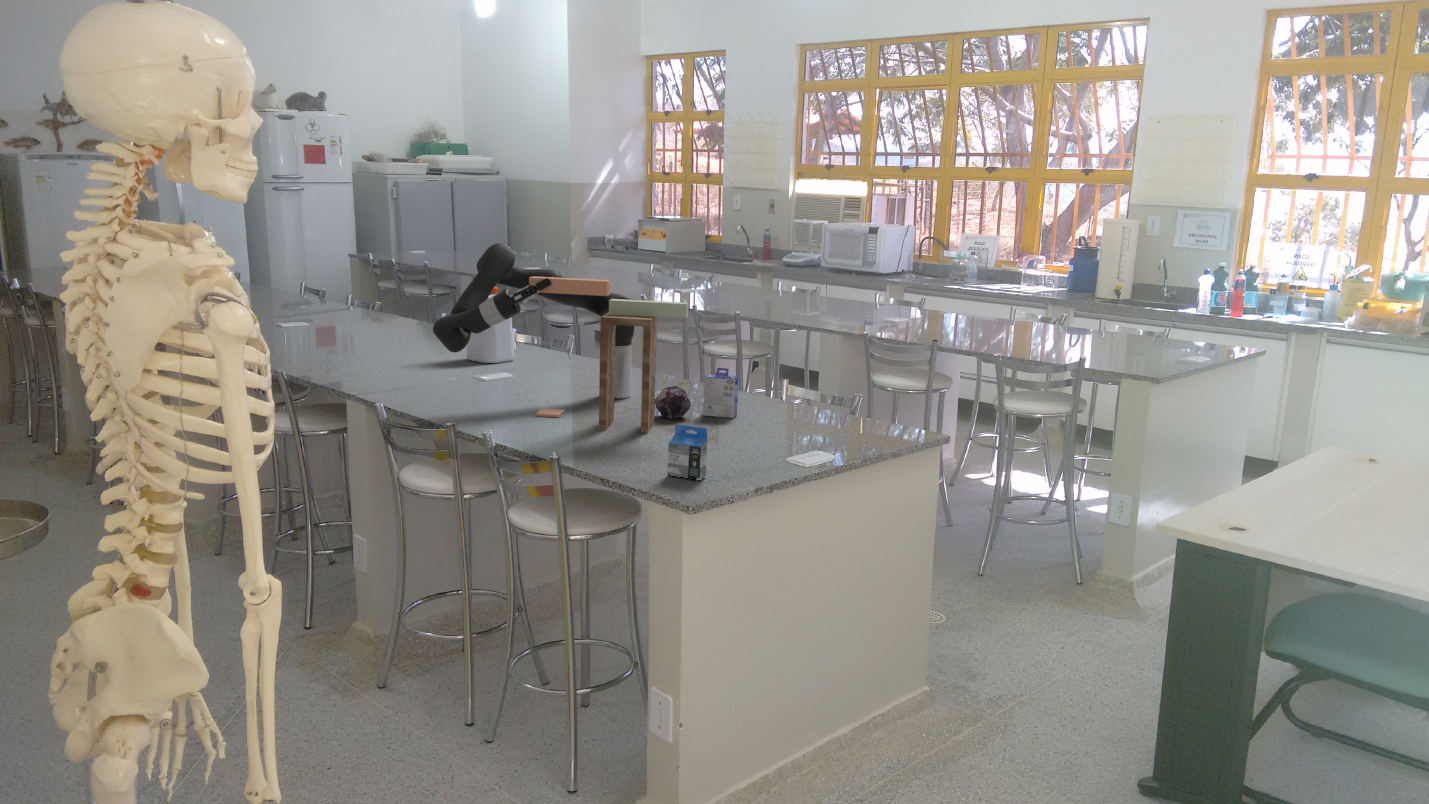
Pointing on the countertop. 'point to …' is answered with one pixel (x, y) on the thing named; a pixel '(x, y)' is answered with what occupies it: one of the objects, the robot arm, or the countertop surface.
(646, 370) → the wooden stand
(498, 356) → the plastic bottle
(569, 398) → the countertop surface
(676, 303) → the sage rod
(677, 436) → the label tape box
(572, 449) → the countertop surface
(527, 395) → the countertop surface
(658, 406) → the mineral specimen
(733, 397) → the ink cartridge box
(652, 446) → the countertop surface
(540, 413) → the tile
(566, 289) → the terracotta rod
